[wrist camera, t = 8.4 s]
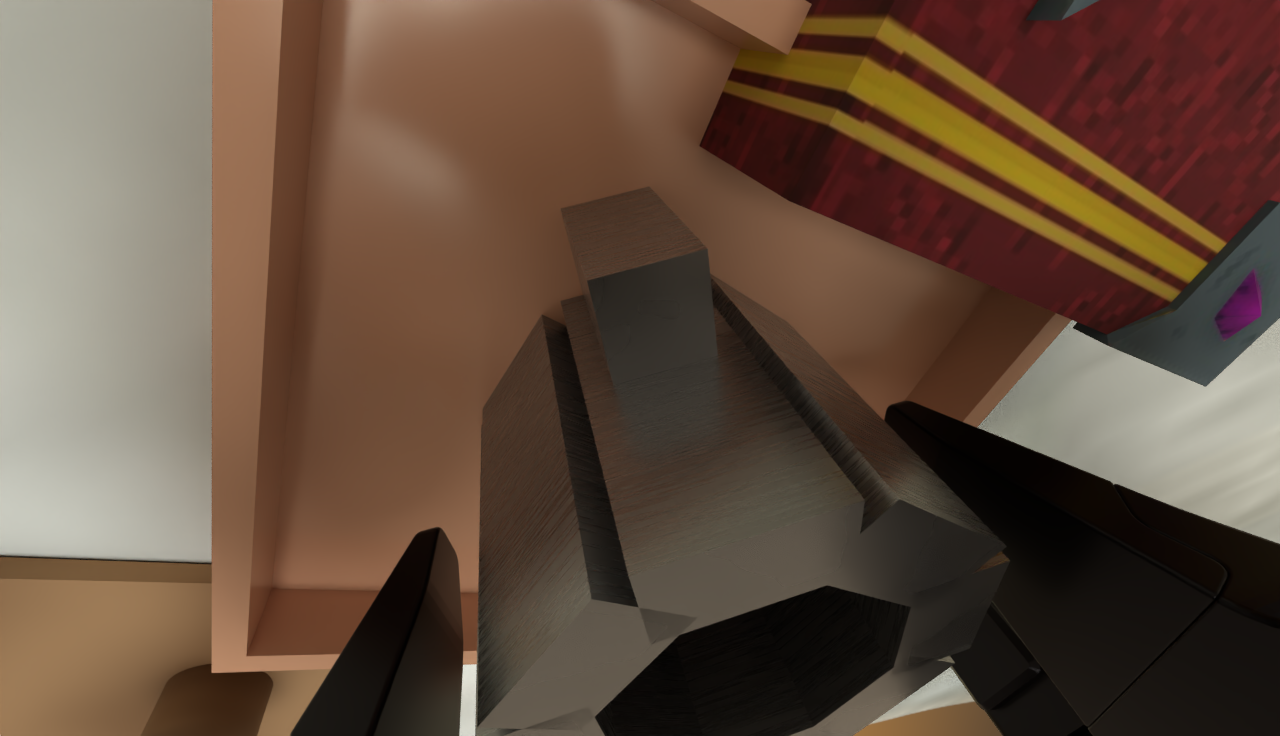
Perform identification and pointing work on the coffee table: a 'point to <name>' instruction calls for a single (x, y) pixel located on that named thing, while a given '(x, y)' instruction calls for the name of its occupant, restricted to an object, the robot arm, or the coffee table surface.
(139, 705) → the square plate with peg
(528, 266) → the tray
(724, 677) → the grey tankard
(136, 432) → the coffee table surface
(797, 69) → the decorative book
